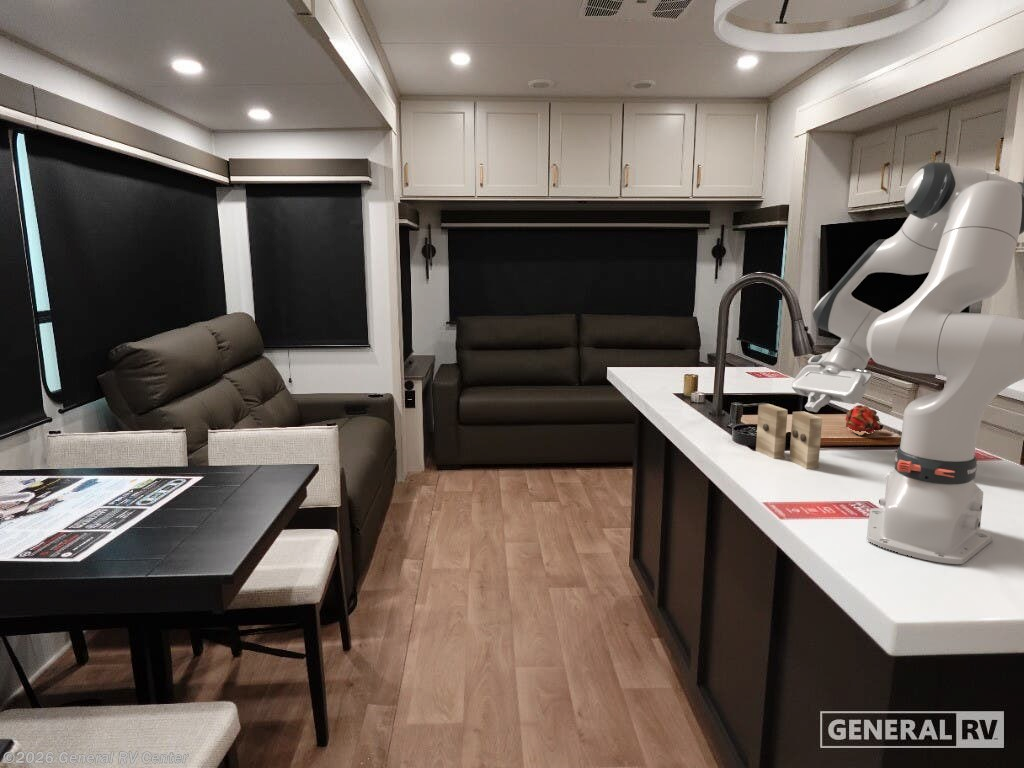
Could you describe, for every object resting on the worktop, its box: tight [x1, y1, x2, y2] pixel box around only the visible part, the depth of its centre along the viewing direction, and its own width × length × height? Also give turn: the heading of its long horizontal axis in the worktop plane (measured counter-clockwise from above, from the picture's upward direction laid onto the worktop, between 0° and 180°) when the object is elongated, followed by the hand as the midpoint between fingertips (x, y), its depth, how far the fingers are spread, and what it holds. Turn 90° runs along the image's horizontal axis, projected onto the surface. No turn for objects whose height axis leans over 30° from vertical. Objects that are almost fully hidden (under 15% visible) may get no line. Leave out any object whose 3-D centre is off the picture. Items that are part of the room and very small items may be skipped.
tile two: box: [789, 411, 823, 470], centre depth 152 cm, size 4×7×12 cm, turn 9°
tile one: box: [755, 403, 788, 459], centre depth 161 cm, size 4×7×12 cm, turn 16°
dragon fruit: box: [845, 404, 884, 434], centre depth 178 cm, size 8×8×12 cm
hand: (810, 410), depth 161 cm, fingers closed
